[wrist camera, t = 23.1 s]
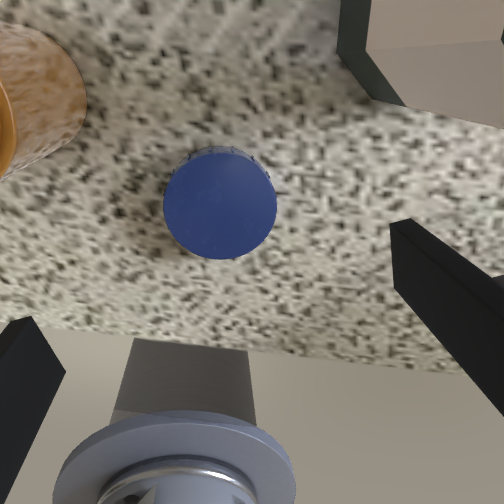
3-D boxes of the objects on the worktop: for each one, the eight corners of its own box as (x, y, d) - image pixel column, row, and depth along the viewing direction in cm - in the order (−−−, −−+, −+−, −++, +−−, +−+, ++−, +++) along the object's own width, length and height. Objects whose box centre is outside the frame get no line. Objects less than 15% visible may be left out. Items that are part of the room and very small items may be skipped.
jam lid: (277, 147, 21) (282, 153, 20) (269, 248, 24) (273, 260, 23) (163, 143, 21) (159, 150, 19) (168, 247, 24) (165, 260, 22)
